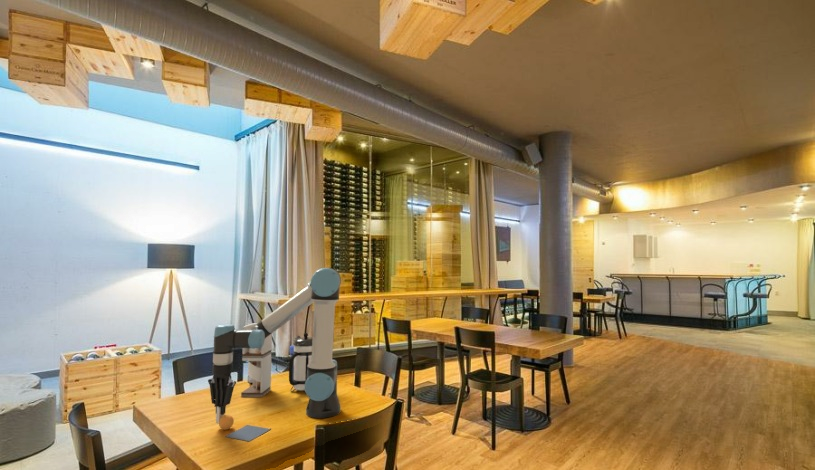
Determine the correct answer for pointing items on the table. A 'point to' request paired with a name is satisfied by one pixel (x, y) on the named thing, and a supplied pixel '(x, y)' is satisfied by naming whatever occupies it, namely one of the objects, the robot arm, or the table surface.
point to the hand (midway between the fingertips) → (220, 422)
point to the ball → (226, 422)
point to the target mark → (247, 433)
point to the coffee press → (300, 362)
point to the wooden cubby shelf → (258, 367)
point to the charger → (250, 379)
